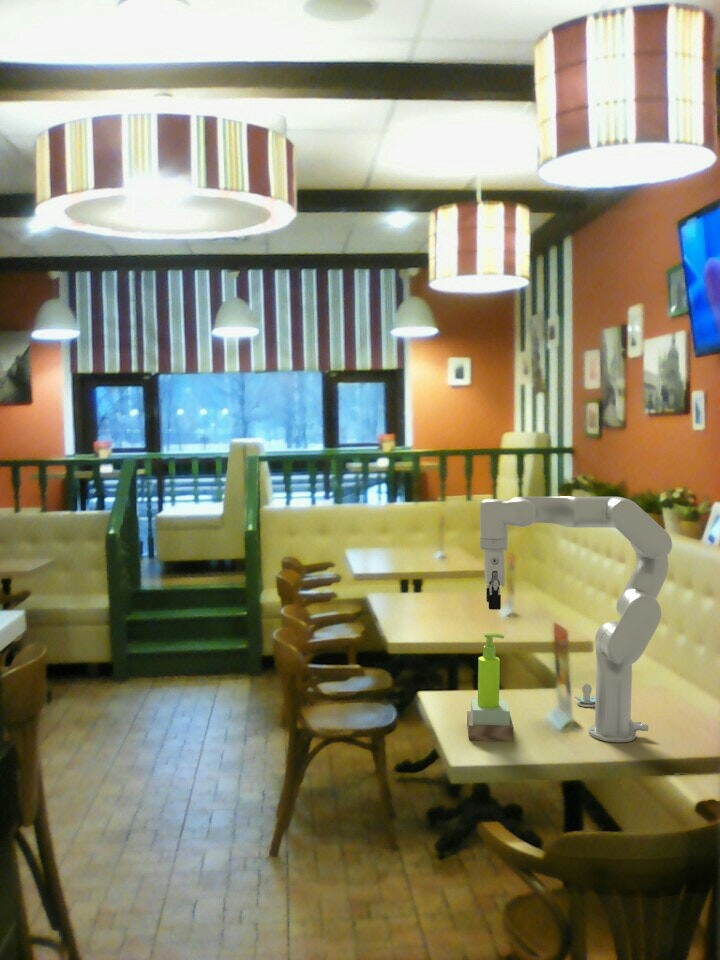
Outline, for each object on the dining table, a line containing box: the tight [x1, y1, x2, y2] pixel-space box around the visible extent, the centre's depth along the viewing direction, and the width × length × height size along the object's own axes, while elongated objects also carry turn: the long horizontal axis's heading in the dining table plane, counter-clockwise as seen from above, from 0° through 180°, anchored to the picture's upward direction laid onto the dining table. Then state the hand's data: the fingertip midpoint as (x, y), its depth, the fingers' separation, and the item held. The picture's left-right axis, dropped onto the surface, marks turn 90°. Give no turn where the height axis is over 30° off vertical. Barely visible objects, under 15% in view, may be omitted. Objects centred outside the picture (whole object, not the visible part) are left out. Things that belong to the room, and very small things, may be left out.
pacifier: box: [574, 683, 596, 708], centre depth 269 cm, size 7×6×6 cm
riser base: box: [466, 710, 514, 743], centre depth 244 cm, size 12×12×4 cm
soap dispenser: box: [477, 633, 505, 708], centre depth 243 cm, size 6×7×20 cm
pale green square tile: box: [470, 698, 511, 726], centre depth 243 cm, size 10×10×4 cm
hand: (493, 605), depth 241 cm, fingers open, 9 cm apart
